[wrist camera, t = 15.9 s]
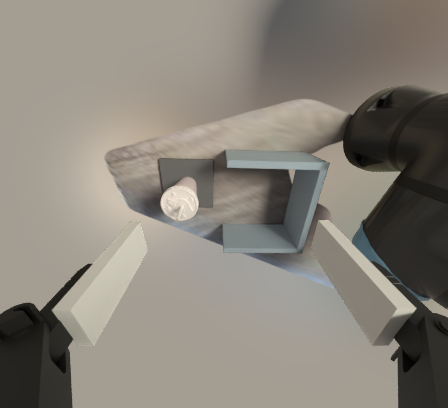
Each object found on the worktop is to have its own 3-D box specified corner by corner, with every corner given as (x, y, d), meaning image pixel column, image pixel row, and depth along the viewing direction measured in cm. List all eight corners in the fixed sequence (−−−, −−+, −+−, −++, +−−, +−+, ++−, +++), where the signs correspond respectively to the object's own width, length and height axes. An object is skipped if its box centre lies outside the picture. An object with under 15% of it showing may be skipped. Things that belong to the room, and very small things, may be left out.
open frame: (305, 152, 37) (329, 163, 29) (287, 228, 45) (301, 253, 37) (225, 149, 36) (227, 160, 28) (222, 227, 45) (223, 252, 37)
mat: (213, 159, 37) (213, 160, 36) (212, 206, 42) (212, 207, 41) (159, 158, 36) (158, 158, 36) (165, 205, 41) (165, 206, 41)
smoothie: (196, 202, 41) (186, 241, 28) (169, 191, 39) (146, 227, 27) (207, 178, 38) (201, 209, 26) (178, 165, 37) (158, 192, 24)
